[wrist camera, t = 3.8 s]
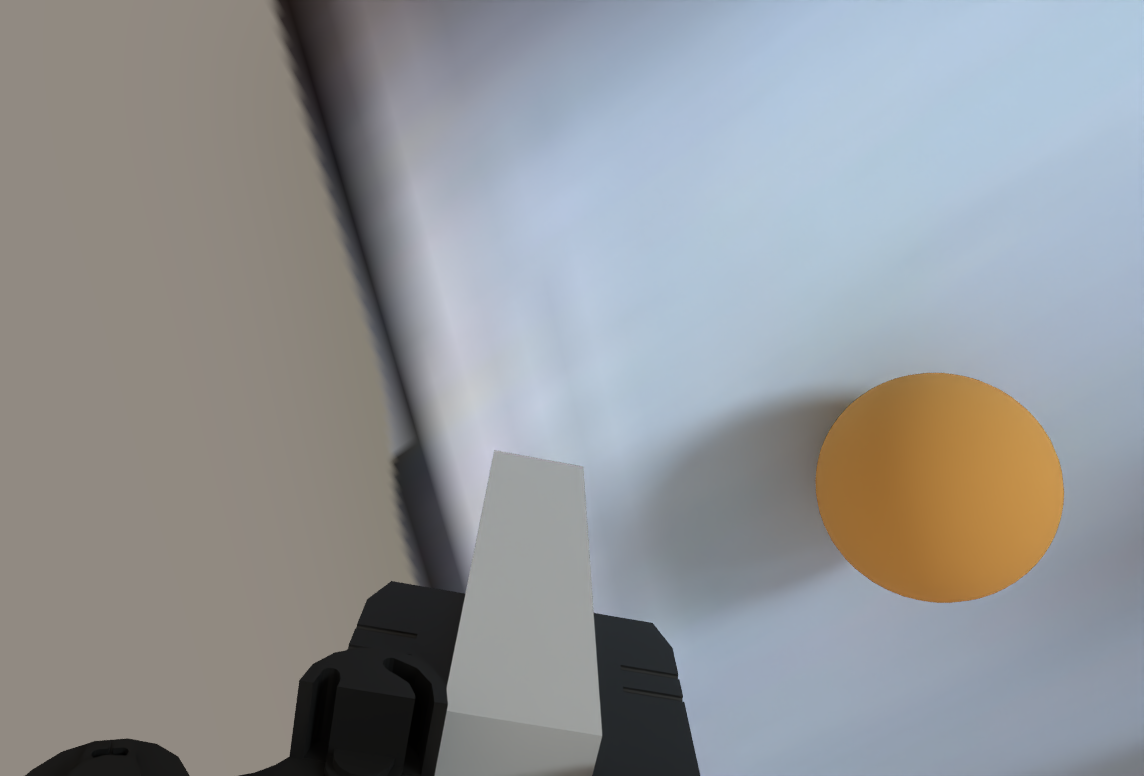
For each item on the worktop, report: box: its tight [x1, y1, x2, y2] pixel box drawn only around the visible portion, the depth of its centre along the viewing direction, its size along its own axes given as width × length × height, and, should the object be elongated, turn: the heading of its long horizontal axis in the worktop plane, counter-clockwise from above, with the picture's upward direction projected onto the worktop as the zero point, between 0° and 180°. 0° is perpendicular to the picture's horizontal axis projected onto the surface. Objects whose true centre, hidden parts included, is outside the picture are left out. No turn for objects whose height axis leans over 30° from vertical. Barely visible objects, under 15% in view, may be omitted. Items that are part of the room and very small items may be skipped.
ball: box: [815, 373, 1064, 603], centre depth 21 cm, size 6×6×6 cm
